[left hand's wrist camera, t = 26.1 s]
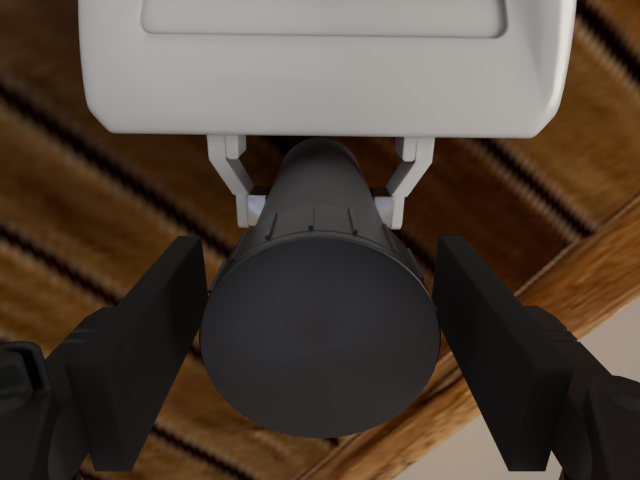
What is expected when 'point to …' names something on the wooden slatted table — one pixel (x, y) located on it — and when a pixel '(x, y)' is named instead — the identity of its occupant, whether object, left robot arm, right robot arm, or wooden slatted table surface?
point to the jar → (319, 180)
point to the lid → (319, 324)
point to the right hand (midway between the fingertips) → (320, 225)
